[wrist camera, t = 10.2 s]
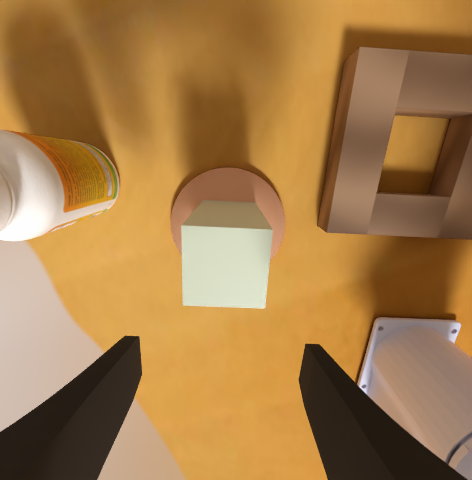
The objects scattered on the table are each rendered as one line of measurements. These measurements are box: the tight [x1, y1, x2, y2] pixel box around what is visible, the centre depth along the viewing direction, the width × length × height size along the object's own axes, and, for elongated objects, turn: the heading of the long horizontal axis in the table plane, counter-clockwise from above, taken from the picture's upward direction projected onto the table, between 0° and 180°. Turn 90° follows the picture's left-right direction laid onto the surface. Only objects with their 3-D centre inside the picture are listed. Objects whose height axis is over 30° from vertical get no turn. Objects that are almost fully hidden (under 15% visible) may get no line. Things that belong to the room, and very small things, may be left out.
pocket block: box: [318, 47, 472, 240], centre depth 17 cm, size 11×11×2 cm
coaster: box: [171, 167, 285, 260], centre depth 19 cm, size 9×9×1 cm
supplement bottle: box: [0, 129, 120, 241], centre depth 13 cm, size 5×5×10 cm
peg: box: [181, 200, 273, 308], centre depth 15 cm, size 4×4×8 cm
